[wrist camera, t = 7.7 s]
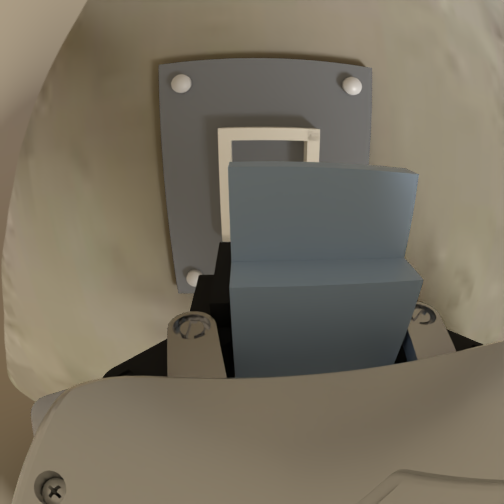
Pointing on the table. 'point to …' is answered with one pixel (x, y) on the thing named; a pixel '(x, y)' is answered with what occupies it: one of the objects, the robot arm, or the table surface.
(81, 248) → the table surface
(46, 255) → the table surface
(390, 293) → the block
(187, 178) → the plate
